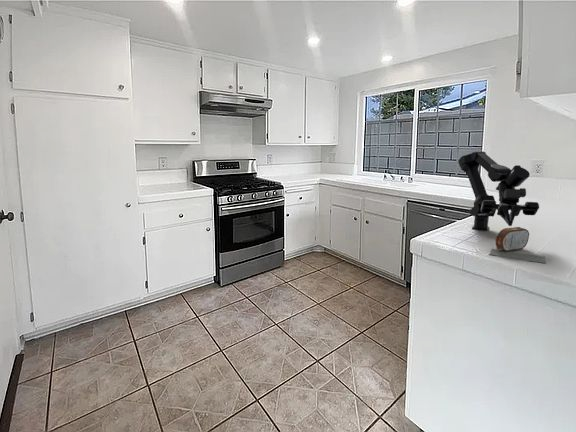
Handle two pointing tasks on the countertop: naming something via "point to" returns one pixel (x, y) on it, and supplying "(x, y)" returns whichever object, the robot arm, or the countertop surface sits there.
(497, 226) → the countertop surface
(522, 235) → the tin
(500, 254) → the mat
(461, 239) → the countertop surface
